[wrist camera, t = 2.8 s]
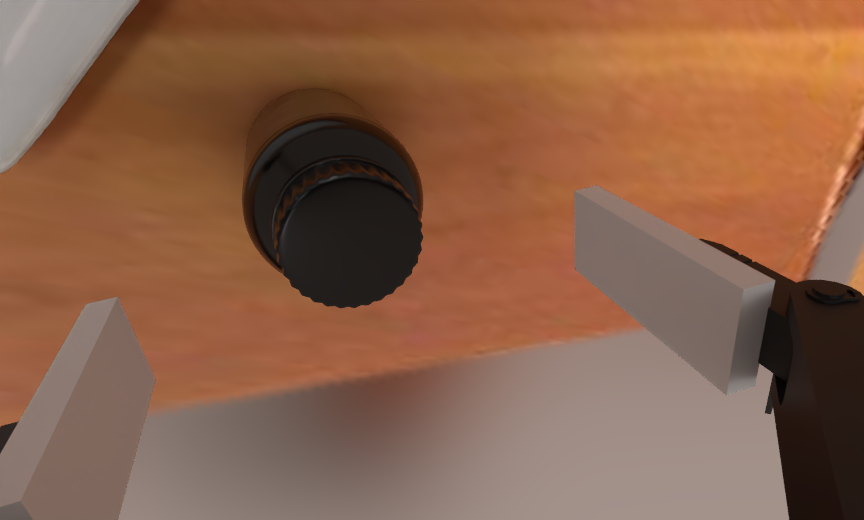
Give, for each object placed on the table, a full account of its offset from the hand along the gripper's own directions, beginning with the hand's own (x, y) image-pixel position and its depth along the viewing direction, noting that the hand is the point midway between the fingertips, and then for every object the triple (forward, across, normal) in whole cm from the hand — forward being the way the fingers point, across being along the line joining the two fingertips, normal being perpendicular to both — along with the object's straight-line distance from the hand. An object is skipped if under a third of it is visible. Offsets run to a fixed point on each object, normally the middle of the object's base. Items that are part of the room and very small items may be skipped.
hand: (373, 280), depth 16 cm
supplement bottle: (+14, 0, 0) cm, 14 cm away
